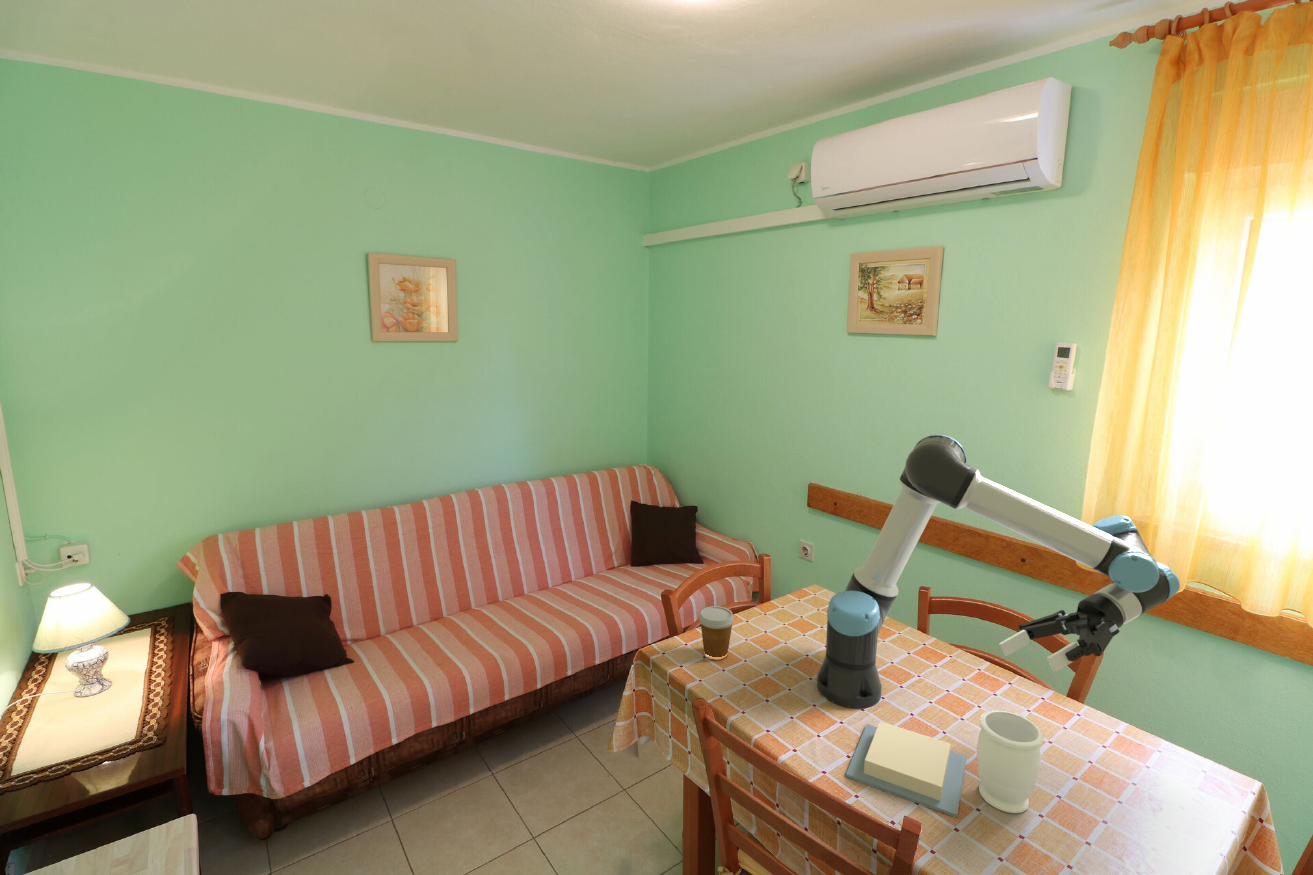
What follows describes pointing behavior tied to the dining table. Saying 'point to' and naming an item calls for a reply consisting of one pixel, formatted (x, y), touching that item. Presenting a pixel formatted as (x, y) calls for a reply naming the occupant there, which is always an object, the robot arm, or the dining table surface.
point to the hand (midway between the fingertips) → (1025, 656)
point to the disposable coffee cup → (716, 630)
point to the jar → (1008, 759)
